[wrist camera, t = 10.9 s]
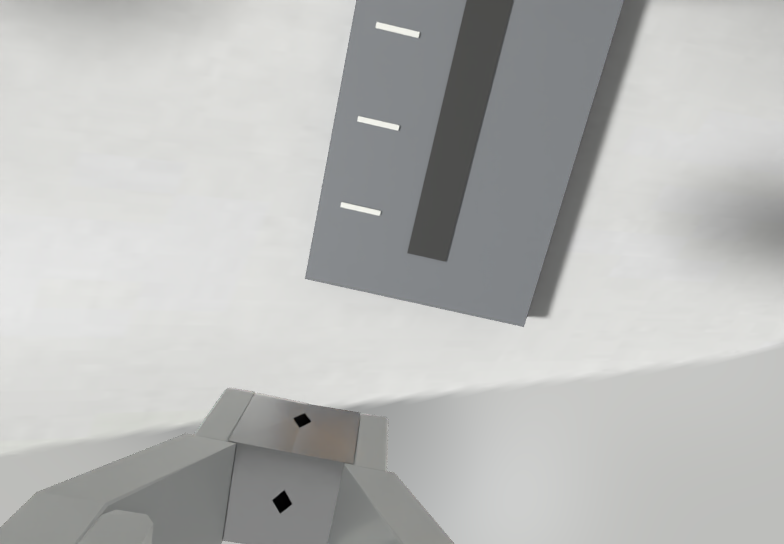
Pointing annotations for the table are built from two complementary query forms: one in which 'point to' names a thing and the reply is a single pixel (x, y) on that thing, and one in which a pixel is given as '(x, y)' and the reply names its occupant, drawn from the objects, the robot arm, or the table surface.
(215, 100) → the table surface
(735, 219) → the table surface
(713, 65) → the table surface
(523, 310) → the console board
